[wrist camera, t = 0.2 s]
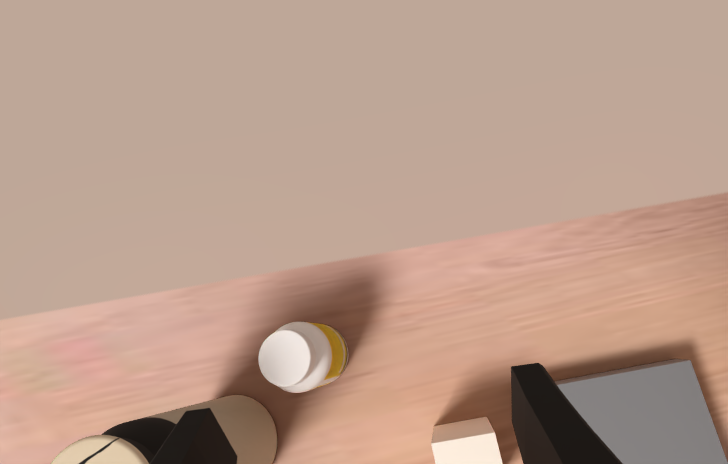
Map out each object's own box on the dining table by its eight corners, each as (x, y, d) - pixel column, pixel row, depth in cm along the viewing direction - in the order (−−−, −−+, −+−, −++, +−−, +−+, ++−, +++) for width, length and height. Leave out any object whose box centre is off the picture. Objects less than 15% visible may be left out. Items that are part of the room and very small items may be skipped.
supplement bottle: (327, 312, 43) (294, 304, 34) (361, 361, 42) (336, 367, 32) (281, 347, 43) (235, 349, 34) (313, 397, 42) (274, 414, 32)
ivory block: (500, 474, 38) (512, 503, 31) (446, 483, 38) (446, 513, 32) (486, 416, 39) (494, 432, 32) (433, 425, 40) (431, 443, 33)
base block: (733, 522, 35) (754, 536, 32) (568, 546, 36) (577, 561, 34) (674, 358, 38) (690, 360, 35) (525, 386, 39) (530, 389, 37)
